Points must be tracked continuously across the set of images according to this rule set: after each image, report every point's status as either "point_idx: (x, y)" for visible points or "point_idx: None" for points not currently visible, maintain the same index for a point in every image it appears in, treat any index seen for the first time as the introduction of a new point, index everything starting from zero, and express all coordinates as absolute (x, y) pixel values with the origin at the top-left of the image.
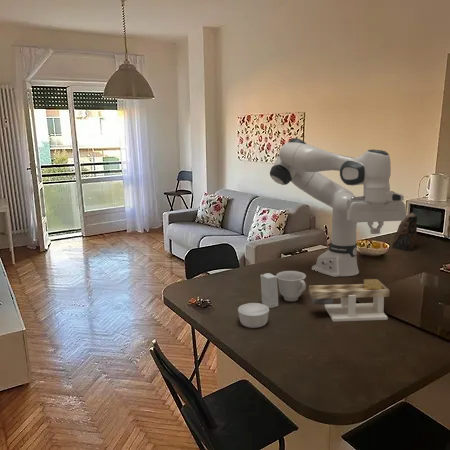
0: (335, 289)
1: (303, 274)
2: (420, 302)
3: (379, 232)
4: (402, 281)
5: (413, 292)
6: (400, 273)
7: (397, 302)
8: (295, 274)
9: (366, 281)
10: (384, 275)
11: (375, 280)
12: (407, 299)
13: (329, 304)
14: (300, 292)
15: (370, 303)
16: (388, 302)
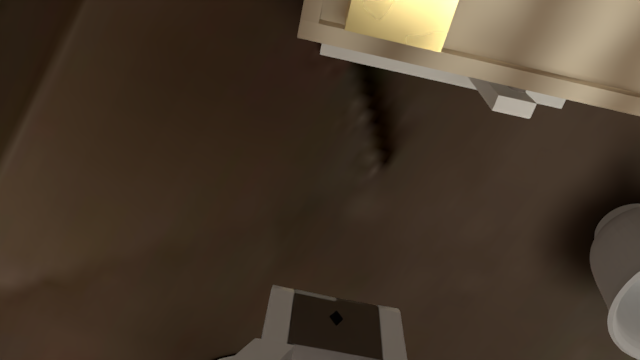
0: (602, 73)
1: (616, 307)
2: (83, 15)
3: (280, 294)
4: (61, 255)
5: (64, 135)
6: (34, 325)
7: (194, 50)
8: (625, 333)
9: (450, 6)
10: (108, 326)
11: (376, 6)
12: (129, 69)
13: (538, 103)
14: (635, 216)
15: (344, 53)
16: (236, 63)
